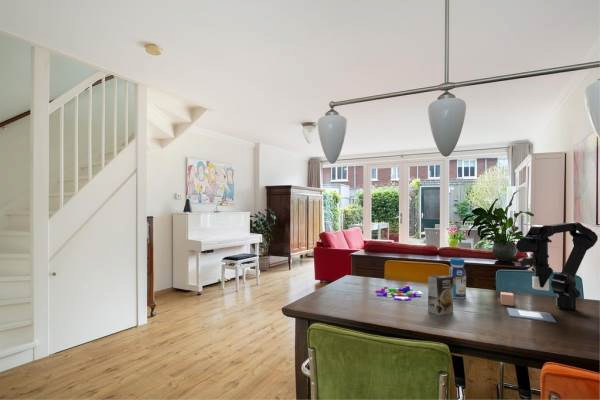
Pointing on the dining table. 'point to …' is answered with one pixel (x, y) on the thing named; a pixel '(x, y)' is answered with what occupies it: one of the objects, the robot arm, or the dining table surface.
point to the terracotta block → (507, 298)
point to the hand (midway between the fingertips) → (540, 285)
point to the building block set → (393, 292)
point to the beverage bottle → (458, 277)
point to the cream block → (537, 285)
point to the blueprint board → (530, 315)
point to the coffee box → (440, 294)
